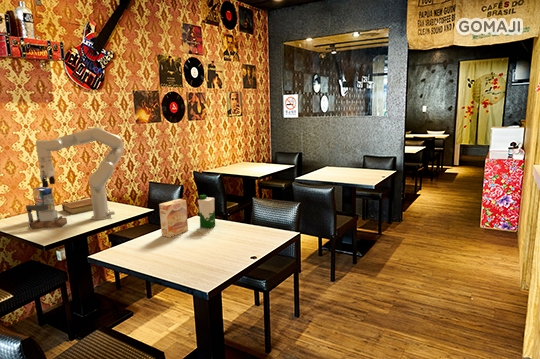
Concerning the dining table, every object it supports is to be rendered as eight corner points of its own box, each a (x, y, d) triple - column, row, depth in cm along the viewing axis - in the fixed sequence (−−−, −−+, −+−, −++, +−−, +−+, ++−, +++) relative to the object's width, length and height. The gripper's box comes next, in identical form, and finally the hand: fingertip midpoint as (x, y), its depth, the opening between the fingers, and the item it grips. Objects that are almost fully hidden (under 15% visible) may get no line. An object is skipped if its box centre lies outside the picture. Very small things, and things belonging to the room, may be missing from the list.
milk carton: (204, 223, 245) (203, 193, 241) (217, 224, 242) (215, 194, 238) (198, 228, 237) (196, 196, 233) (211, 229, 234) (209, 197, 230)
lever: (53, 208, 248) (52, 203, 247) (51, 209, 244) (50, 205, 244) (28, 209, 246) (27, 204, 245) (25, 211, 243) (24, 206, 242)
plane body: (67, 223, 253) (66, 215, 252) (61, 227, 245) (60, 219, 243) (38, 224, 252) (37, 217, 250) (31, 229, 243) (30, 221, 242)
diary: (93, 204, 301) (93, 197, 300) (103, 208, 289) (103, 201, 287) (62, 210, 285) (61, 203, 284) (71, 215, 272) (70, 207, 271)
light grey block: (58, 218, 250) (56, 208, 249) (54, 221, 245) (53, 211, 244) (43, 219, 249) (42, 209, 248) (39, 221, 244) (38, 211, 243)
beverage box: (46, 222, 257) (42, 190, 253) (37, 220, 262) (32, 188, 258) (56, 219, 263) (52, 188, 259) (46, 217, 268) (42, 186, 264)
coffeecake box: (168, 237, 221) (166, 205, 217) (161, 235, 225) (158, 203, 221) (188, 230, 233) (186, 199, 229) (181, 228, 237) (178, 198, 233)
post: (36, 226, 249) (33, 209, 247) (33, 227, 245) (31, 211, 243) (30, 226, 249) (28, 210, 246) (27, 228, 245) (25, 211, 243)
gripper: (44, 161, 236) (48, 188, 240) (57, 157, 253) (61, 182, 257) (32, 161, 236) (36, 188, 239) (45, 157, 252) (49, 183, 256)
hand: (49, 185), depth 248 cm, fingers open, 9 cm apart
